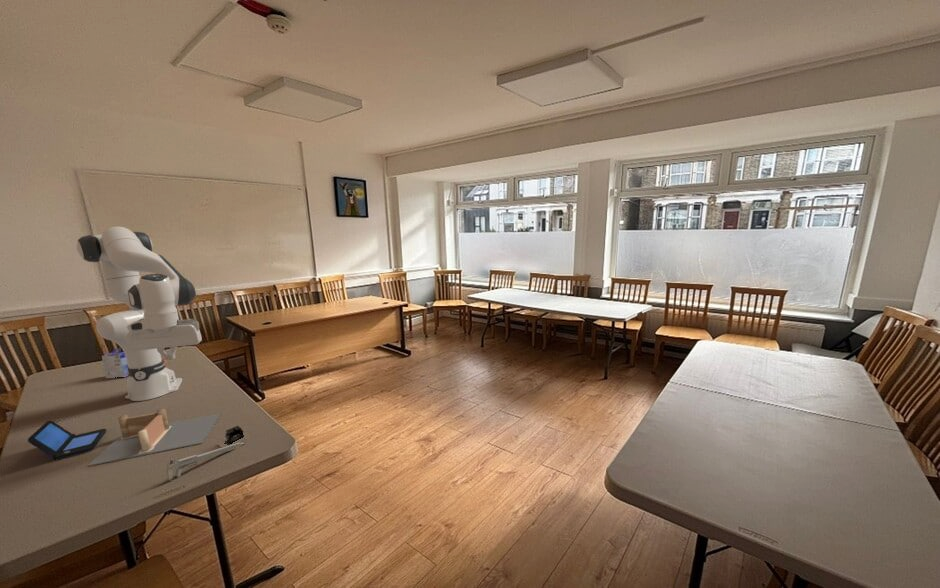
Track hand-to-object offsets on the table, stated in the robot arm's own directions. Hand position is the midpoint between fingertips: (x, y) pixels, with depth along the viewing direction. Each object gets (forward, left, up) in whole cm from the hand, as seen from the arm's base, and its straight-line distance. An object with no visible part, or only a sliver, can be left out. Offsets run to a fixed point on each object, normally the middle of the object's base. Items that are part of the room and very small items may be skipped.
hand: (169, 359), depth 127 cm
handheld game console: (0, -31, -27) cm, 41 cm away
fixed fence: (+1, -11, -26) cm, 28 cm away
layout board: (+6, -4, -26) cm, 27 cm away
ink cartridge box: (-75, -52, -26) cm, 95 cm away
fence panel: (+8, -5, -25) cm, 27 cm away
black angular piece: (+19, +21, -27) cm, 39 cm away
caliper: (+29, +17, -27) cm, 43 cm away
